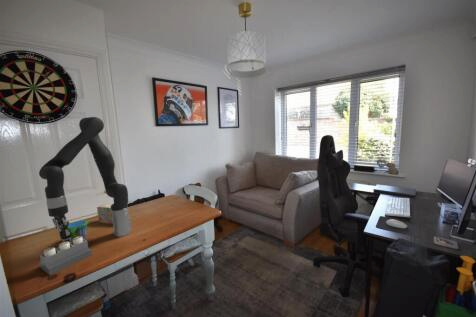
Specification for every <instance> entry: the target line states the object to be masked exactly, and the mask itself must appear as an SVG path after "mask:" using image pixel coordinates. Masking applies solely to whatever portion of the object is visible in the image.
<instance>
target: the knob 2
mask: <svg viewBox="0 0 476 317" xmlns="http://www.w3.org/2000/svg"><path fill="white" fill-rule="evenodd" d="M82 242H83V237H81V236H80V237H76V238H74V239H73V245H77V244H79V243H82Z"/></svg>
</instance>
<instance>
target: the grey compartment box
mask: <svg viewBox="0 0 476 317" xmlns="http://www.w3.org/2000/svg"><path fill="white" fill-rule="evenodd" d="M55 251H56V254H54V255H51V256H49V257H47V258H45V256H44V253H42V254H40V255H39V258H40V261H38V264H39V268H40V269H41V270H42V271H44V272H45V273H46V274H48V275H49V276H52V275H54V274H55V273H57V272H59V271H61V270H64V269H66V268H68V267H71V266H72V265H74V264H76V263H78V262H80V261H82V260H84V259H86V258H89V257H91V256H92V255H93V254H92V249H91V248H89V244H88V240H86V238H85V239H83V242H82V243H79V244H77V245H73V242H72V241H71V243H70V248H68V249H65V250H63V251H60V249H59V247H57V248H55Z"/></svg>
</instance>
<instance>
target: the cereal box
mask: <svg viewBox="0 0 476 317" xmlns="http://www.w3.org/2000/svg"><path fill="white" fill-rule="evenodd" d="M112 204H113V203H111V204H109V203H103V204H100V205H98V206H96V210H97V211H96V212H97V216H98V222H99V223H103V224H112V225H113V221H112V213H111V205H112Z"/></svg>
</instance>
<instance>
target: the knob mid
mask: <svg viewBox="0 0 476 317" xmlns="http://www.w3.org/2000/svg"><path fill="white" fill-rule="evenodd" d="M58 248H59V249H60V251H63V250H65V249H68V248H70V243H69V242H65V241H64V242H63V241H62V242H61V243H59V244H58Z"/></svg>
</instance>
